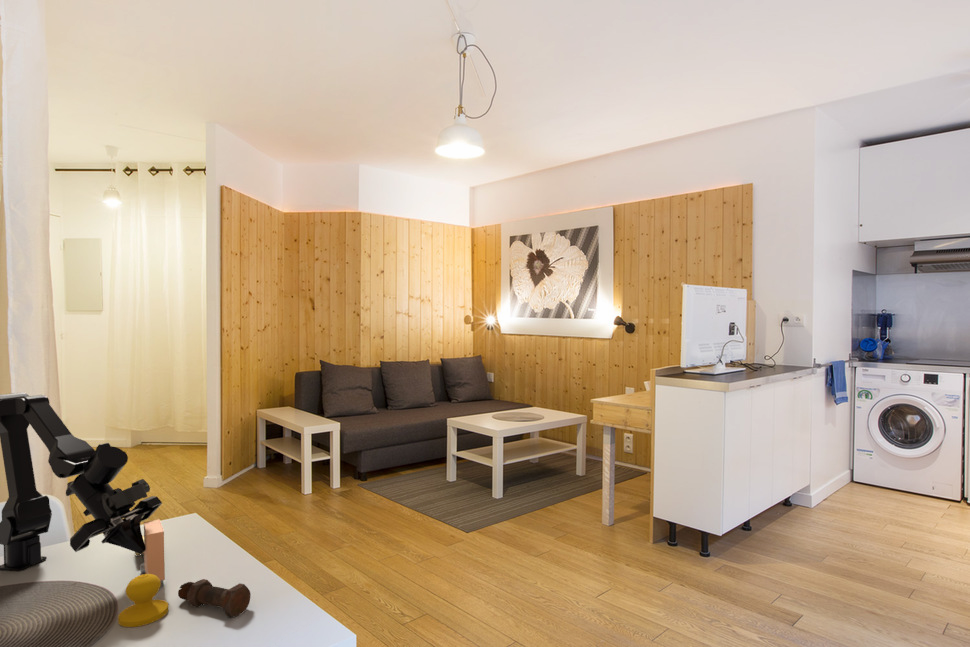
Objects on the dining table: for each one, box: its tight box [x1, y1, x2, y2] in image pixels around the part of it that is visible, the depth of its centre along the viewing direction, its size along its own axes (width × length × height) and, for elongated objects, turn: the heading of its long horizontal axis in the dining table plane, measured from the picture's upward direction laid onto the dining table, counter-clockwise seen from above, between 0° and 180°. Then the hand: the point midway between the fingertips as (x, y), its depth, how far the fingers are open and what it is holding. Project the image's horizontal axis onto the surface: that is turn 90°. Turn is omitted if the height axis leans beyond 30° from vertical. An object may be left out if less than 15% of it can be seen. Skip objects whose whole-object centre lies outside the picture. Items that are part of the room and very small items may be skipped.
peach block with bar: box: [139, 518, 166, 588], centre depth 122 cm, size 4×22×11 cm, turn 35°
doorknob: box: [117, 573, 170, 628], centre depth 103 cm, size 8×8×8 cm
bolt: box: [177, 578, 251, 618], centre depth 106 cm, size 6×5×15 cm
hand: (143, 551), depth 116 cm, fingers closed
